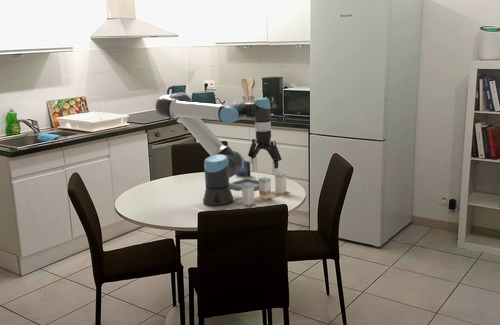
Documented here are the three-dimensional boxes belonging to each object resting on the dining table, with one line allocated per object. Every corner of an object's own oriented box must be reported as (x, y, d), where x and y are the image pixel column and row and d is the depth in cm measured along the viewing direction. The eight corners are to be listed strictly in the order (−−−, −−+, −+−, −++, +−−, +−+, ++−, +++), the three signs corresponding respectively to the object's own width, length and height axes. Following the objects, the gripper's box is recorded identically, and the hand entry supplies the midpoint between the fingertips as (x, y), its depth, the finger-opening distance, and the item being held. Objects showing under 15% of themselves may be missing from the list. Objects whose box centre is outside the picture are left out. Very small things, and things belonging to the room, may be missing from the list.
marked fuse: (265, 199, 251) (264, 180, 249) (259, 198, 254) (258, 178, 251) (271, 197, 254) (270, 178, 251) (265, 196, 257) (264, 177, 254)
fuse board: (250, 208, 241) (249, 206, 241) (238, 205, 246) (238, 203, 246) (290, 193, 261) (290, 192, 261) (279, 191, 267) (279, 189, 267)
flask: (235, 175, 301) (234, 158, 299) (237, 174, 304) (236, 157, 302) (249, 176, 298) (248, 159, 295) (251, 175, 300) (250, 158, 298)
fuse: (248, 205, 243) (247, 185, 240) (242, 203, 246) (241, 184, 243) (254, 203, 246) (253, 183, 243) (248, 201, 248) (247, 182, 246)
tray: (249, 192, 266) (249, 188, 265) (228, 187, 277) (228, 183, 276) (267, 186, 275) (267, 182, 275) (246, 182, 286) (246, 177, 286)
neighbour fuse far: (281, 193, 259) (281, 175, 257) (275, 192, 262) (274, 173, 260) (286, 192, 262) (286, 173, 260) (280, 190, 265) (280, 172, 263)
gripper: (287, 131, 240) (289, 174, 245) (250, 127, 257) (252, 167, 262) (277, 133, 235) (278, 177, 239) (239, 129, 252) (242, 170, 257)
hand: (265, 172), depth 251 cm, fingers open, 13 cm apart
